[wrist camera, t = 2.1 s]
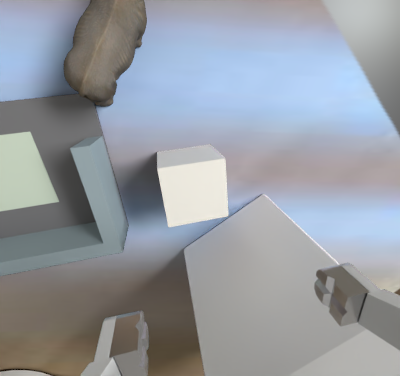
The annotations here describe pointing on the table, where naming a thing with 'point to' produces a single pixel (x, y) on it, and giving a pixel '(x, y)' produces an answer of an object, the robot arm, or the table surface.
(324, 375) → the gable box
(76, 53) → the rhino figurine
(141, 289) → the table surface
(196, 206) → the block
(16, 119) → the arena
